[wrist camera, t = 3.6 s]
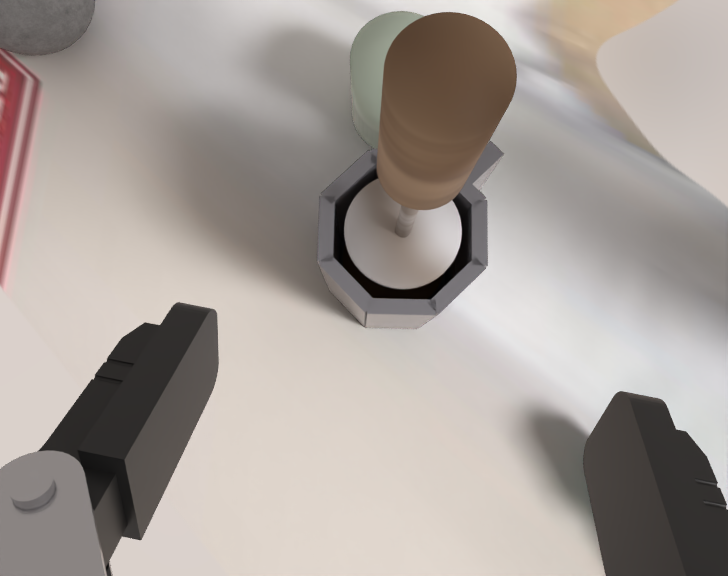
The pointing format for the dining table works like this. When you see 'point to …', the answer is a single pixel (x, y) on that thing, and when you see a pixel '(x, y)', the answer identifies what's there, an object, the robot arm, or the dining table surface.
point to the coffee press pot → (396, 305)
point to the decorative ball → (43, 24)
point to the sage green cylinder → (373, 70)
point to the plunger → (428, 146)
